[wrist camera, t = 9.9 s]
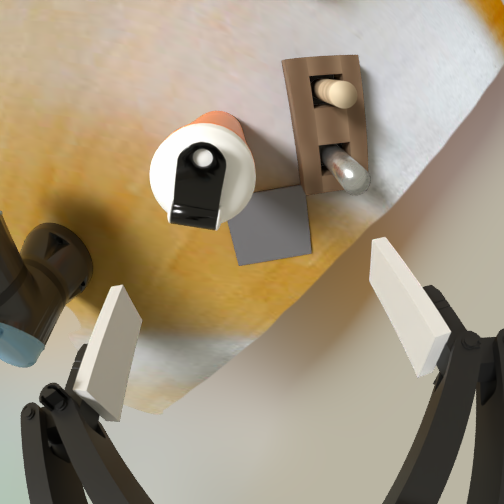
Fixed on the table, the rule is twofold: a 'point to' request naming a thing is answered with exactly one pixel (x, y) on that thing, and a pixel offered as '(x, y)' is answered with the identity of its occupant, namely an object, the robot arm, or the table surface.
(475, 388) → the robot arm
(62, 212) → the table surface
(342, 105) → the dowel
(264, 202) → the mat
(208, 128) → the shaker bottle
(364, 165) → the hole block
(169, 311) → the table surface
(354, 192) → the peg
